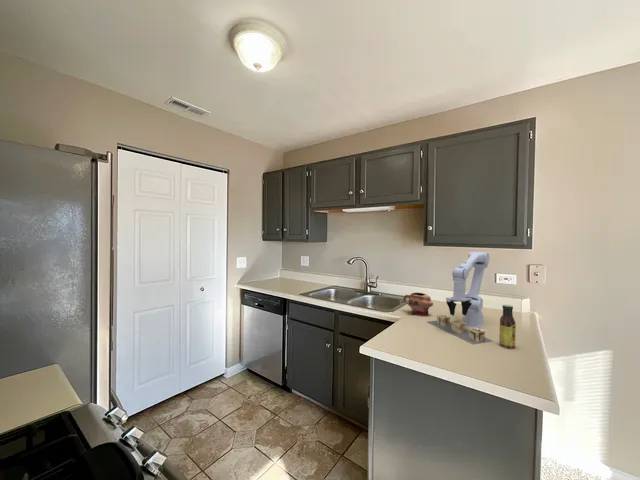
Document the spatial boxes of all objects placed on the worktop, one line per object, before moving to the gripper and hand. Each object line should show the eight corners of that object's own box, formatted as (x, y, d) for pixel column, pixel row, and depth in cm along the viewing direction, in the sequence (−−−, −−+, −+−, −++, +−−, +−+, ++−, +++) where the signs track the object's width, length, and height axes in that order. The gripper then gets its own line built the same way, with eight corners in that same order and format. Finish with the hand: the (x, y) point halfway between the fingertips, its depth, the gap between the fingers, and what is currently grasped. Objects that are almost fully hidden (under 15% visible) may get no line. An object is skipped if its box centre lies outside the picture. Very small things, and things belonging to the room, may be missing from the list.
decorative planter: (399, 313, 180) (399, 292, 179) (406, 309, 189) (406, 289, 189) (430, 319, 167) (430, 297, 167) (435, 314, 177) (436, 293, 176)
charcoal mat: (443, 320, 165) (443, 319, 165) (494, 342, 132) (494, 341, 132) (426, 322, 161) (426, 321, 161) (473, 345, 129) (473, 344, 129)
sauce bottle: (515, 351, 122) (516, 308, 122) (499, 348, 126) (500, 306, 125) (514, 346, 128) (515, 305, 127) (499, 343, 131) (499, 303, 131)
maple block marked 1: (443, 322, 159) (443, 314, 159) (450, 325, 155) (450, 316, 154) (436, 323, 158) (436, 314, 158) (442, 326, 153) (443, 317, 153)
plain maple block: (458, 329, 148) (459, 320, 148) (466, 332, 144) (466, 323, 143) (451, 330, 147) (451, 321, 147) (458, 333, 142) (458, 324, 142)
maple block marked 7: (476, 337, 137) (476, 327, 137) (485, 341, 133) (485, 330, 132) (468, 338, 136) (468, 328, 136) (477, 342, 131) (477, 332, 131)
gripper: (453, 291, 140) (452, 317, 140) (476, 291, 143) (475, 316, 143) (444, 288, 147) (442, 313, 146) (466, 289, 150) (465, 313, 150)
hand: (458, 315), depth 145 cm, fingers open, 7 cm apart
